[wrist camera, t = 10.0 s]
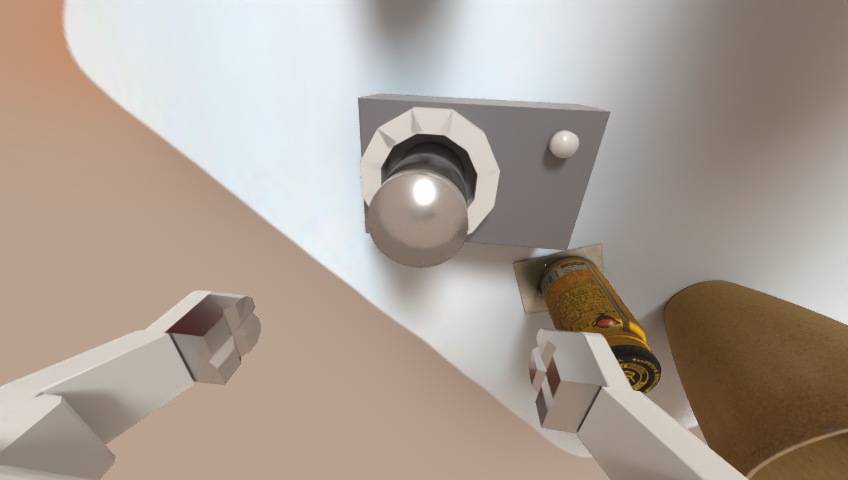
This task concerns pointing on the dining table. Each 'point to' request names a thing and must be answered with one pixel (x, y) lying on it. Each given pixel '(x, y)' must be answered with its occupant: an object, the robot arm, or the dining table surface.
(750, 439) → the plant pot
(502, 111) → the camera body
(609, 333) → the condiment
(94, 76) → the dining table surface
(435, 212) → the lens
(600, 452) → the robot arm
